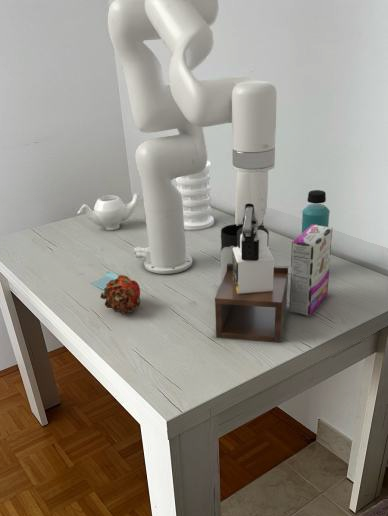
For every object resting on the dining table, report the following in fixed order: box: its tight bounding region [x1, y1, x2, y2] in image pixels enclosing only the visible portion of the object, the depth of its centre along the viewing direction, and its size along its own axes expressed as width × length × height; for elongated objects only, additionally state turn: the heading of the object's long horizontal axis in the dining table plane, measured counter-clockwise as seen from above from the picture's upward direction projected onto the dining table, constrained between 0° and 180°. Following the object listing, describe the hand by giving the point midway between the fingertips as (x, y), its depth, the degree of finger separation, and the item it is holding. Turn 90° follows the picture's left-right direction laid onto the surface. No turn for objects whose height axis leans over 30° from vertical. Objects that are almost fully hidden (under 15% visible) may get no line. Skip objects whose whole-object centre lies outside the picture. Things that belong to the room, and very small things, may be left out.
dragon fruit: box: [100, 274, 141, 314], centre depth 122 cm, size 8×8×12 cm
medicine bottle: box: [232, 226, 275, 294], centre depth 108 cm, size 7×7×12 cm
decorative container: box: [175, 160, 215, 231], centre depth 164 cm, size 12×12×18 cm
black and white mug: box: [220, 223, 243, 284], centre depth 127 cm, size 9×14×15 cm, turn 158°
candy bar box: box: [289, 225, 333, 317], centre depth 117 cm, size 11×5×16 cm, turn 148°
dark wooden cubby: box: [214, 264, 289, 343], centre depth 113 cm, size 13×14×10 cm
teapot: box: [77, 192, 141, 231], centre depth 167 cm, size 10×20×9 cm, turn 112°
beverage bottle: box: [300, 189, 331, 235], centre depth 130 cm, size 6×7×20 cm
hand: (252, 251), depth 107 cm, fingers closed on medicine bottle, 6 cm apart
